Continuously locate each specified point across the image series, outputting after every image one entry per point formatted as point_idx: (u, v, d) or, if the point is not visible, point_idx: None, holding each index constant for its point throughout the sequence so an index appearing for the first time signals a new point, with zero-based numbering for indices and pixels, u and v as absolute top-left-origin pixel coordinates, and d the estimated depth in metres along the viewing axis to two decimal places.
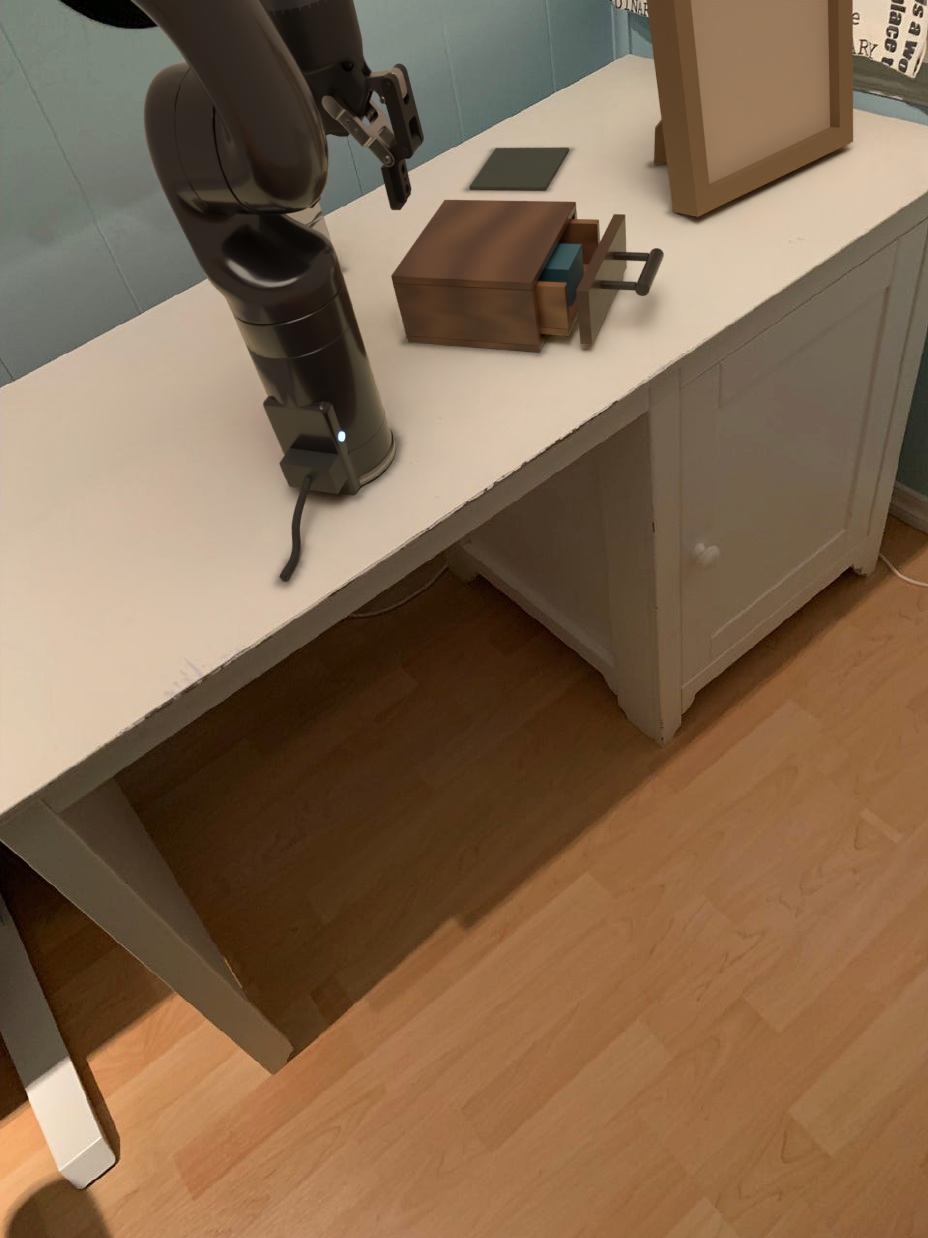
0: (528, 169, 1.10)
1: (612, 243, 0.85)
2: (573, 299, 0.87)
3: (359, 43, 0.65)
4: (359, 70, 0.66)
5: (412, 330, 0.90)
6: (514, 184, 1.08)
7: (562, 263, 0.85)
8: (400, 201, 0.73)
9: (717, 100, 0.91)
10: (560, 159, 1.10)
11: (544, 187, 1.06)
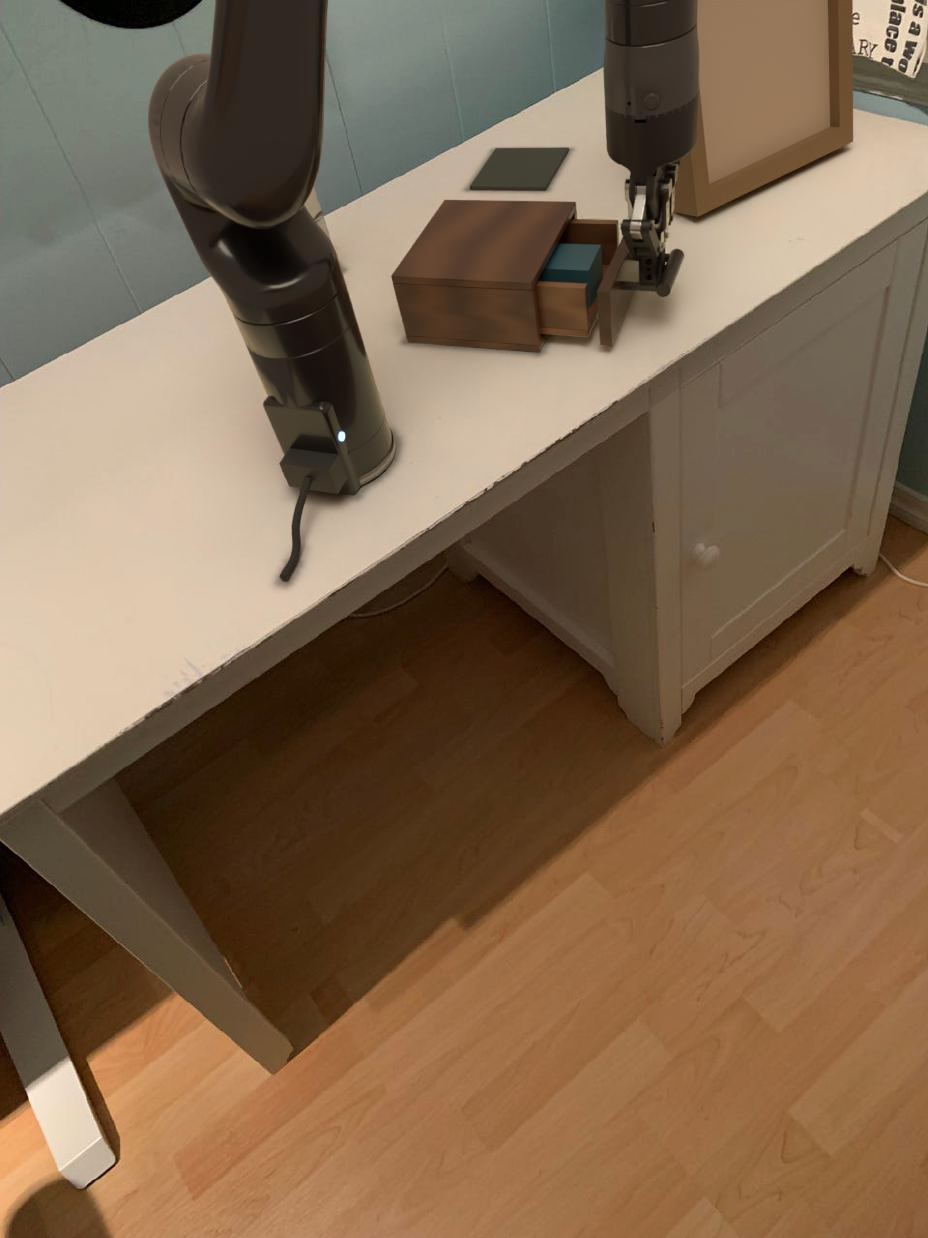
0: (528, 169, 1.10)
1: None
2: (592, 300, 0.86)
3: (646, 163, 0.72)
4: (634, 181, 0.74)
5: (412, 330, 0.90)
6: (514, 184, 1.08)
7: (582, 264, 0.84)
8: None
9: (717, 100, 0.91)
10: (560, 159, 1.10)
11: (544, 187, 1.06)
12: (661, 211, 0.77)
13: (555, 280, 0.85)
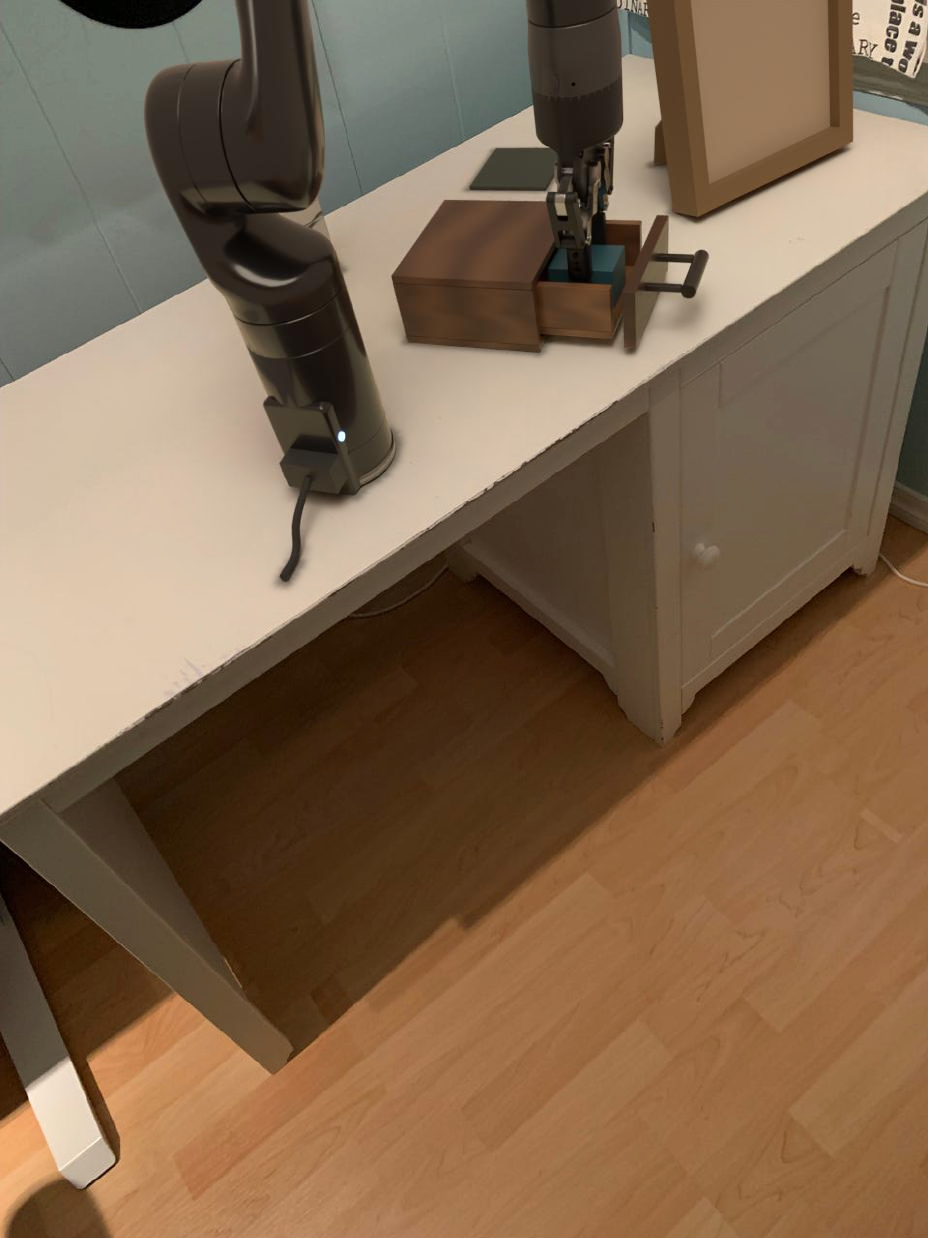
0: (528, 169, 1.10)
1: (656, 244, 0.83)
2: (615, 301, 0.86)
3: None
4: None
5: (412, 330, 0.90)
6: (514, 184, 1.08)
7: (606, 265, 0.83)
8: None
9: (717, 100, 0.91)
10: None
11: (544, 187, 1.06)
12: None
13: (578, 281, 0.85)
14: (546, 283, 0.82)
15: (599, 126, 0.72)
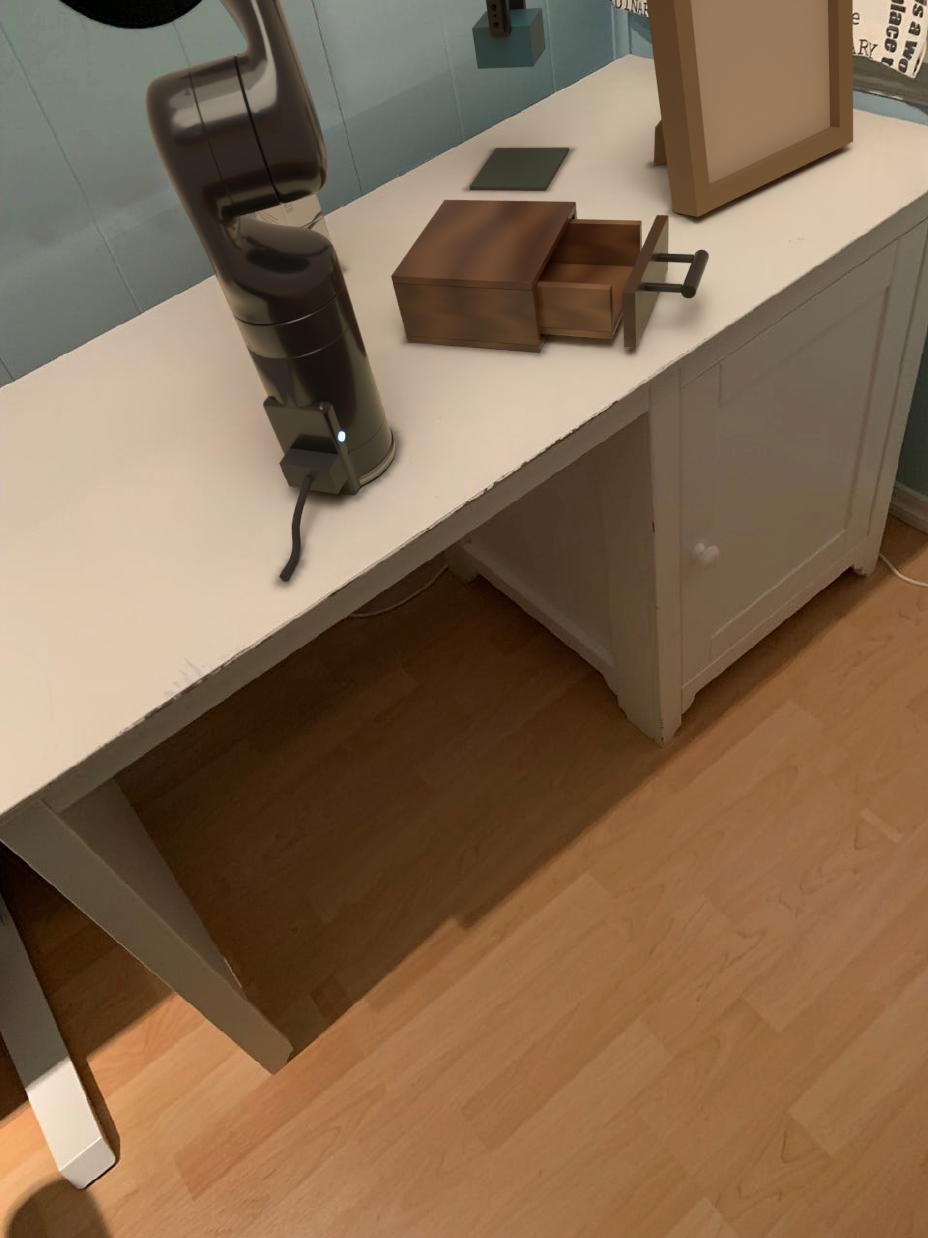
0: (528, 169, 1.10)
1: (656, 244, 0.83)
2: (534, 60, 0.95)
3: None
4: None
5: (412, 330, 0.90)
6: (514, 184, 1.08)
7: (523, 21, 0.92)
8: None
9: (717, 100, 0.91)
10: (560, 159, 1.10)
11: (544, 187, 1.06)
12: None
13: (500, 39, 0.94)
14: (546, 283, 0.82)
15: None
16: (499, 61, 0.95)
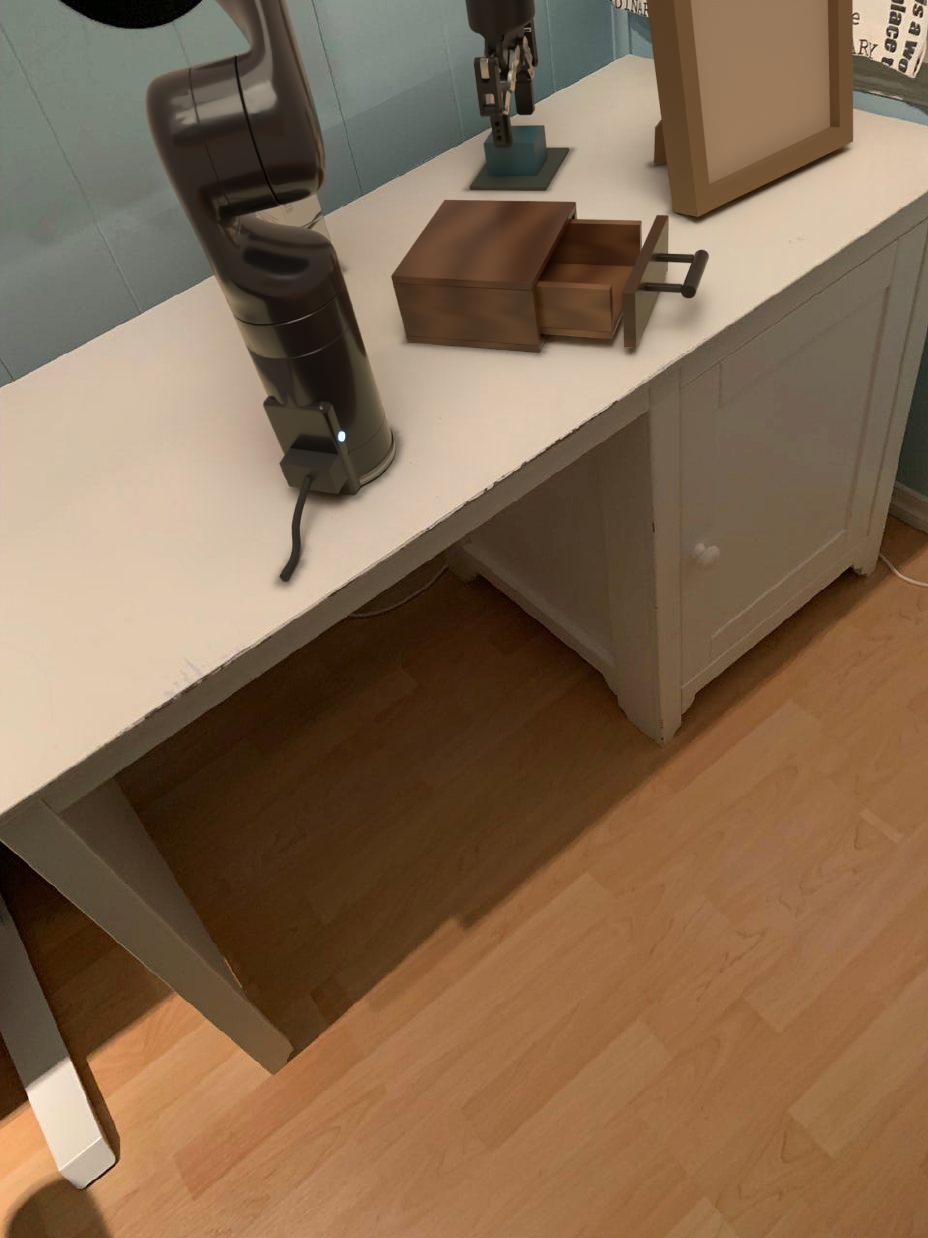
0: None
1: (656, 244, 0.83)
2: (538, 170, 1.08)
3: None
4: None
5: (412, 330, 0.90)
6: (514, 184, 1.08)
7: (528, 138, 1.06)
8: None
9: (717, 100, 0.91)
10: (560, 159, 1.10)
11: (544, 187, 1.06)
12: None
13: (508, 152, 1.07)
14: (546, 283, 0.82)
15: (514, 14, 0.95)
16: (507, 170, 1.09)
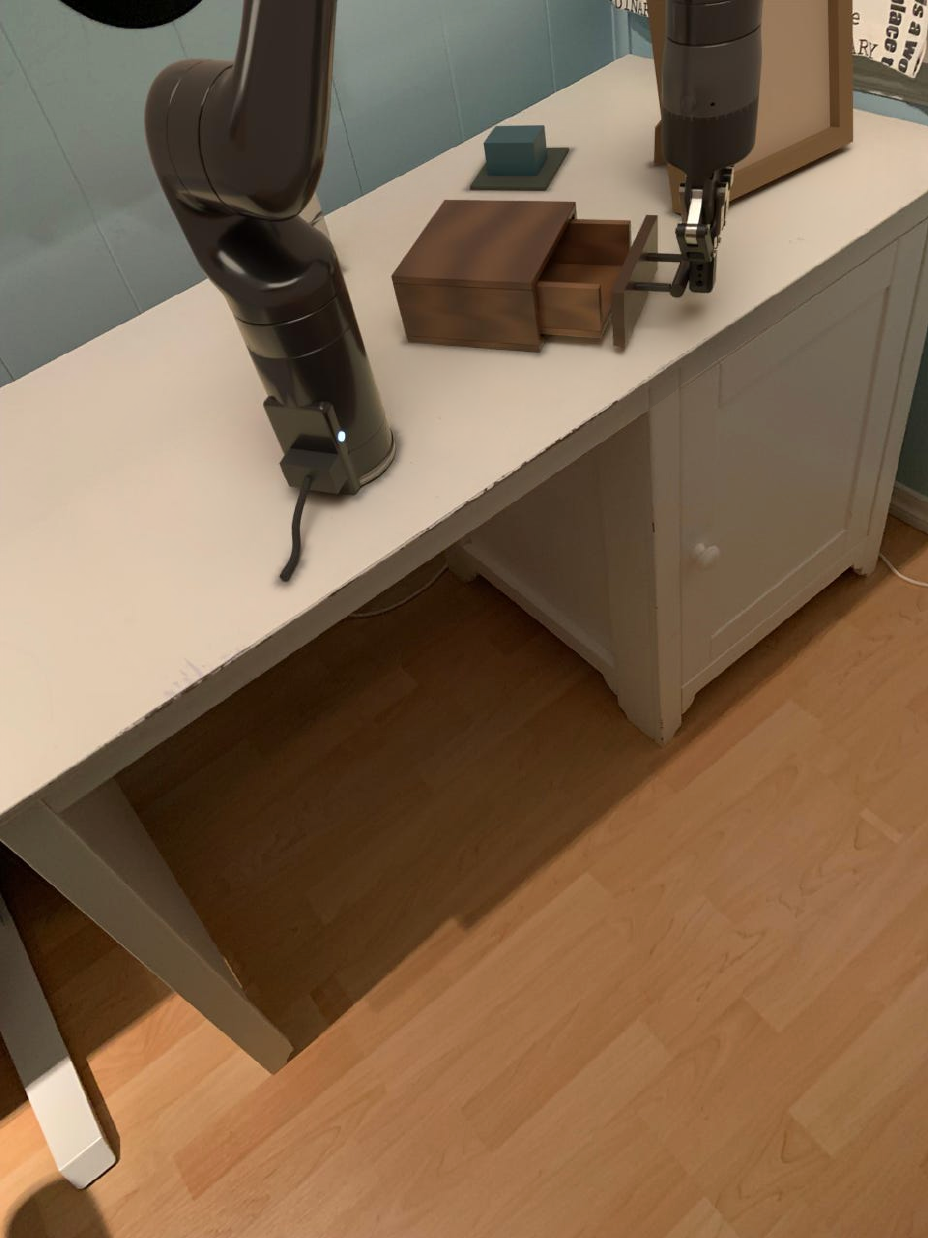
0: None
1: (645, 244, 0.84)
2: (538, 170, 1.08)
3: None
4: None
5: (412, 330, 0.90)
6: (514, 184, 1.08)
7: (528, 138, 1.06)
8: None
9: None
10: (560, 159, 1.10)
11: (544, 187, 1.06)
12: None
13: (508, 152, 1.07)
14: None
15: (734, 147, 0.70)
16: (507, 170, 1.09)
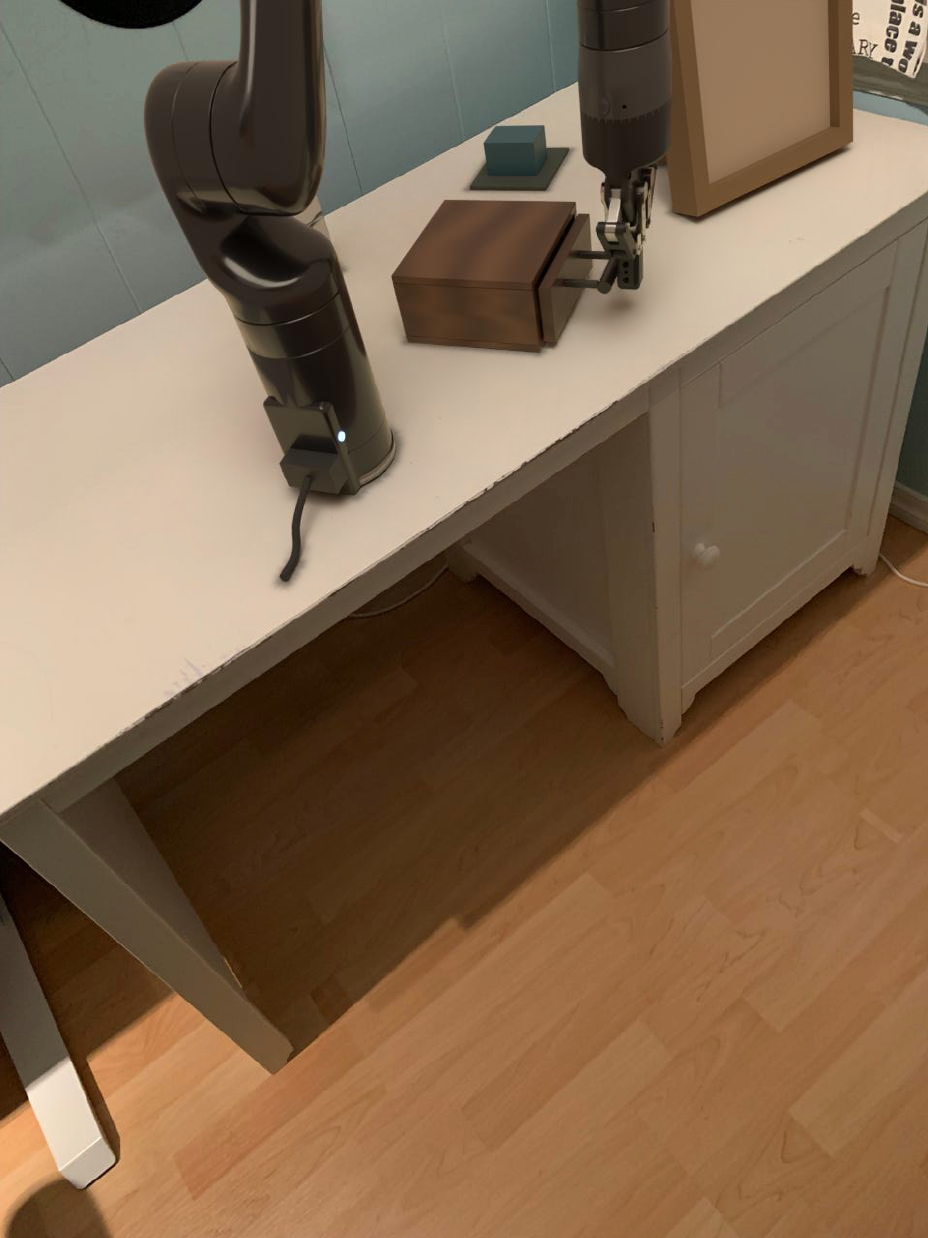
0: None
1: (575, 242, 0.86)
2: (538, 170, 1.08)
3: None
4: None
5: (412, 330, 0.90)
6: (514, 184, 1.08)
7: (528, 138, 1.06)
8: None
9: (717, 100, 0.91)
10: (560, 159, 1.10)
11: (544, 187, 1.06)
12: None
13: (508, 152, 1.07)
14: None
15: (649, 148, 0.72)
16: (507, 170, 1.09)
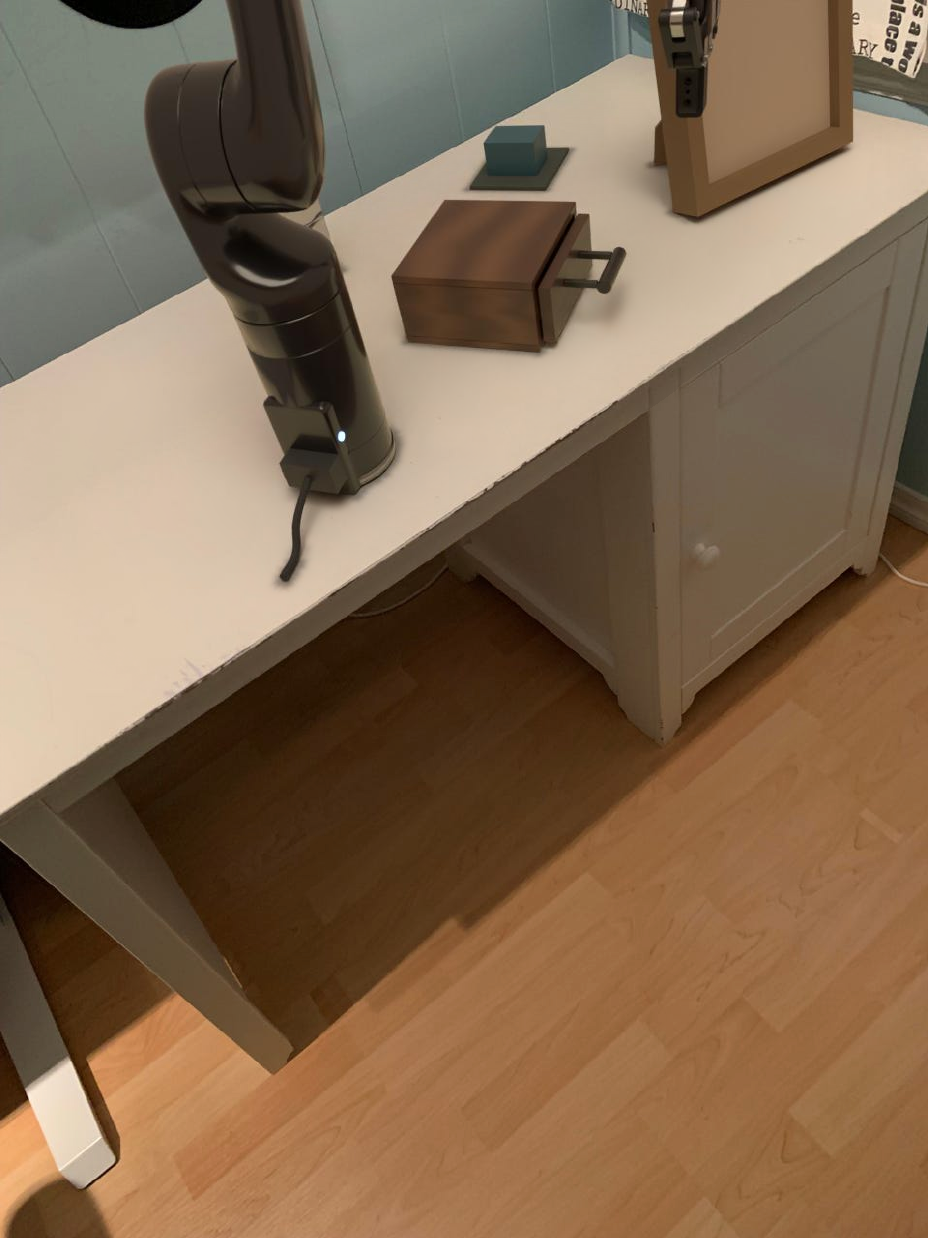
0: None
1: (575, 242, 0.86)
2: (538, 170, 1.08)
3: None
4: None
5: (412, 330, 0.90)
6: (514, 184, 1.08)
7: (528, 138, 1.06)
8: None
9: (717, 100, 0.91)
10: (560, 159, 1.10)
11: (544, 187, 1.06)
12: None
13: (508, 152, 1.07)
14: None
15: None
16: (507, 170, 1.09)
